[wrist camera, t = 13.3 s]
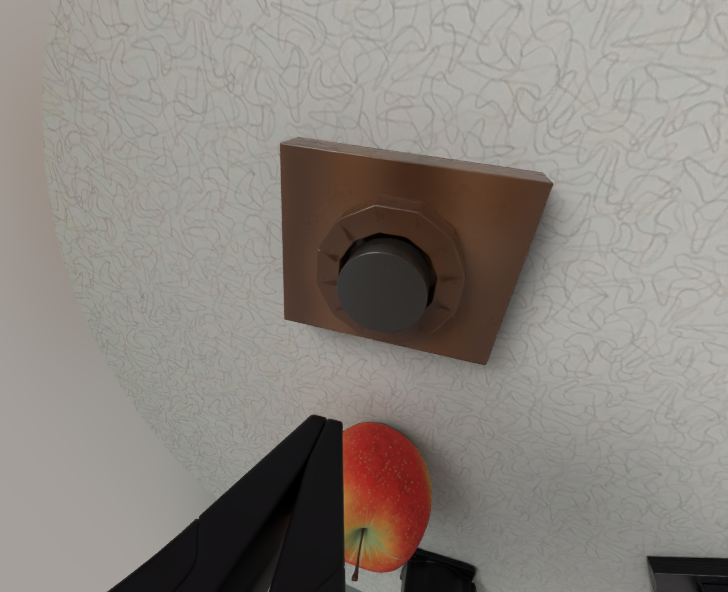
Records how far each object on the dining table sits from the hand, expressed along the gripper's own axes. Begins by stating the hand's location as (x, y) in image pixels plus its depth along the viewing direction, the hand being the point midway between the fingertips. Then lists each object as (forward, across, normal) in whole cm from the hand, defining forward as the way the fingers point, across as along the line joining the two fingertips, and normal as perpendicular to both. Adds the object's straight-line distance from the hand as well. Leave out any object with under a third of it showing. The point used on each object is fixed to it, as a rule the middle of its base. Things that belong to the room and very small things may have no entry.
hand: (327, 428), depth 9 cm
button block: (+12, 0, 0) cm, 12 cm away
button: (+9, 0, 0) cm, 9 cm away
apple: (+13, -1, +16) cm, 20 cm away
